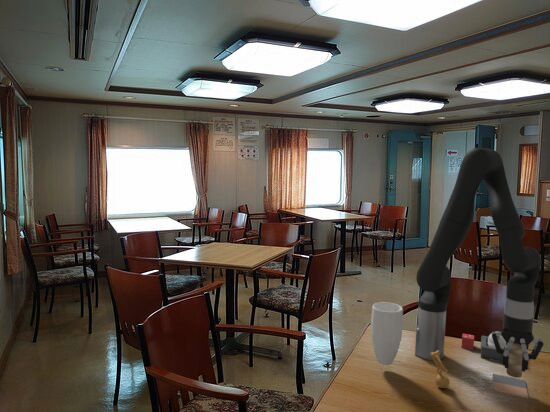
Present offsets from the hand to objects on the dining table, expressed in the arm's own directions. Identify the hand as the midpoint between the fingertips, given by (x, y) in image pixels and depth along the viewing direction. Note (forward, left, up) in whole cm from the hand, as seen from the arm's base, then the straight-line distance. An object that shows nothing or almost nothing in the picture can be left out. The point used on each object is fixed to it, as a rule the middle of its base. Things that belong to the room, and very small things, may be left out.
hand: (514, 368), depth 125 cm
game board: (-1, +3, -7) cm, 7 cm away
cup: (-37, -6, -7) cm, 38 cm away
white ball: (-3, +25, -6) cm, 26 cm away
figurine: (-20, -9, -7) cm, 23 cm away
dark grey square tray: (-3, +25, -7) cm, 26 cm away
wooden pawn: (0, 0, -2) cm, 2 cm away
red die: (-13, +27, -7) cm, 31 cm away
